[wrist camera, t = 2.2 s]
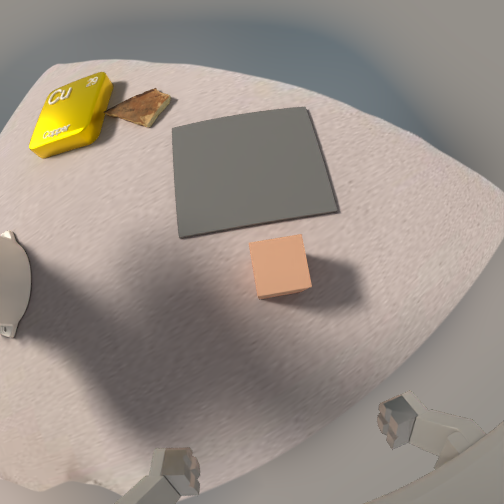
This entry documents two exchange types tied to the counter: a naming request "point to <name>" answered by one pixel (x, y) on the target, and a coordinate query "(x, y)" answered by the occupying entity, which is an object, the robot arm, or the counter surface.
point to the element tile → (72, 116)
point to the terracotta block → (280, 266)
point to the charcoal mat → (248, 171)
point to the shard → (141, 107)
